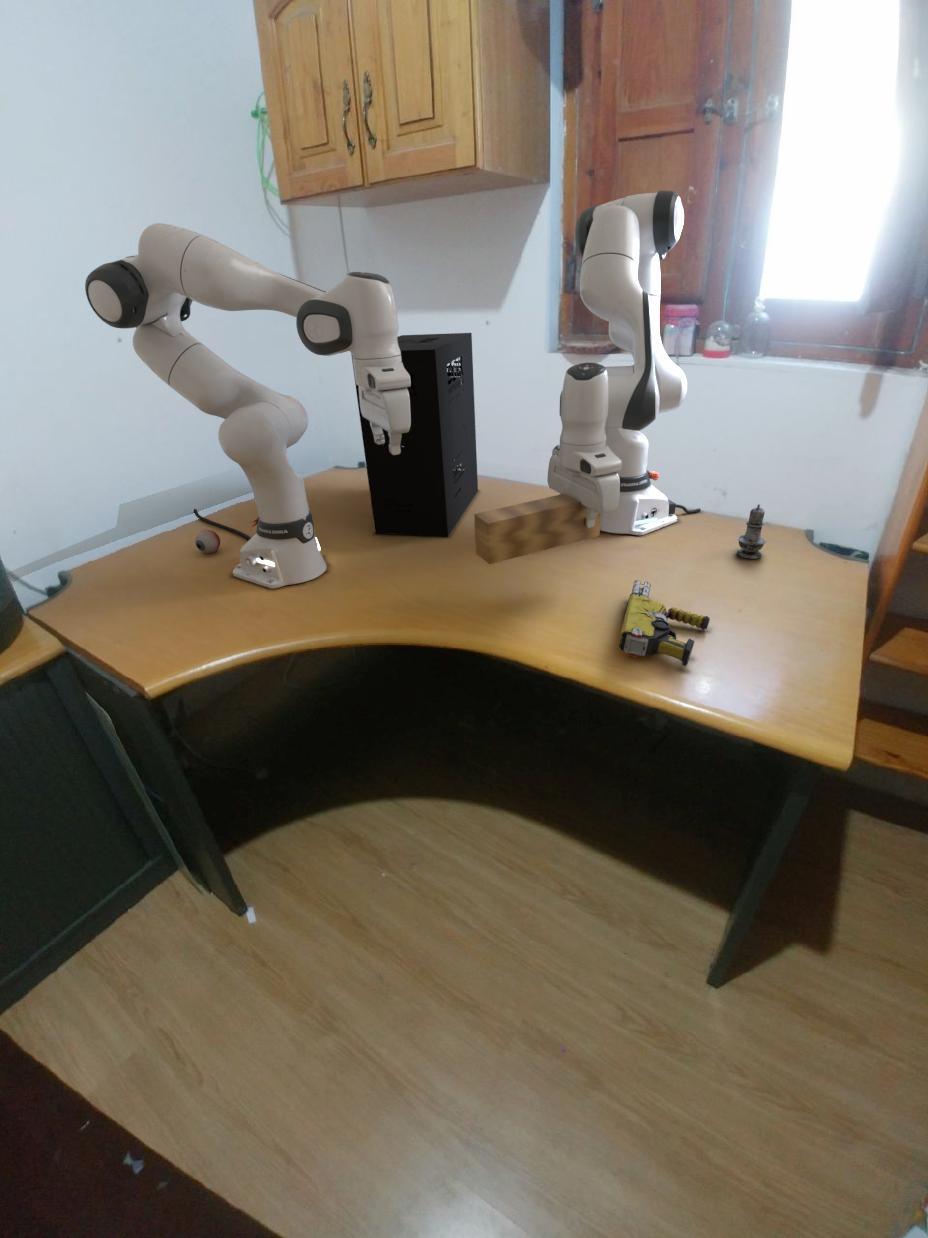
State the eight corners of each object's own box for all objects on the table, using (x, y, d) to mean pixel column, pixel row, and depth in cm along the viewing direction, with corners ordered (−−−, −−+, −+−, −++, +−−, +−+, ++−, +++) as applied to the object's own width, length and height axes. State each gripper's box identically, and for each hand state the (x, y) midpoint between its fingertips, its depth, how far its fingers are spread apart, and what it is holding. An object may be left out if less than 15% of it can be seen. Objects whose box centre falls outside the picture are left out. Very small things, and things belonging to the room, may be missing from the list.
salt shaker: (765, 559, 136) (776, 508, 130) (737, 558, 137) (747, 508, 131) (759, 549, 141) (770, 499, 135) (733, 548, 142) (742, 499, 136)
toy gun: (711, 591, 118) (634, 577, 122) (713, 651, 98) (620, 632, 102) (705, 612, 120) (629, 597, 124) (706, 675, 100) (615, 655, 104)
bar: (583, 526, 130) (585, 488, 126) (599, 536, 125) (602, 496, 121) (476, 553, 121) (474, 513, 117) (488, 564, 117) (487, 523, 112)
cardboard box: (448, 536, 158) (435, 349, 135) (375, 533, 162) (351, 351, 140) (477, 490, 189) (471, 332, 167) (416, 489, 194) (401, 335, 171)
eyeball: (192, 555, 155) (186, 534, 152) (210, 546, 160) (204, 525, 157) (210, 558, 153) (204, 536, 150) (227, 548, 158) (222, 527, 155)
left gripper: (347, 368, 118) (357, 440, 125) (379, 381, 102) (388, 463, 109) (378, 365, 120) (386, 435, 127) (413, 377, 104) (420, 457, 111)
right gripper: (540, 445, 125) (539, 508, 132) (599, 470, 109) (595, 540, 116) (566, 440, 127) (564, 502, 134) (627, 464, 111) (621, 533, 118)
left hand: (387, 448), depth 118 cm, fingers open, 8 cm apart
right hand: (579, 520), depth 125 cm, fingers closed on bar, 6 cm apart
